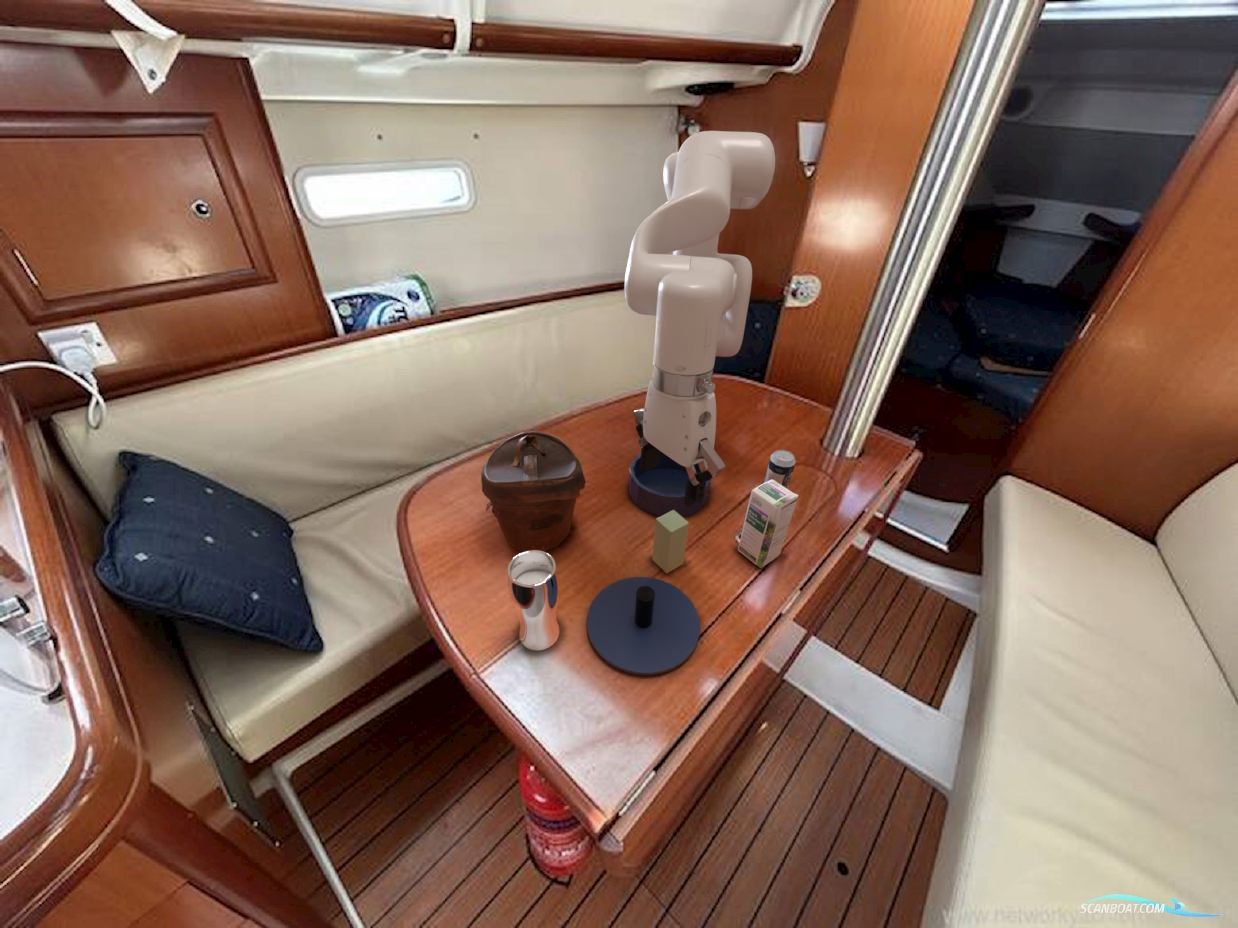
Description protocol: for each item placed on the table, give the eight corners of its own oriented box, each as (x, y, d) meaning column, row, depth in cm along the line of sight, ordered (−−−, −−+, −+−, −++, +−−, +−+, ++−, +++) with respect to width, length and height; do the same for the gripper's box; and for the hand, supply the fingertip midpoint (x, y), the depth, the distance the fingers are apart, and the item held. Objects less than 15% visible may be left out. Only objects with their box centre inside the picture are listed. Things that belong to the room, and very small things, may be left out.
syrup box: (735, 550, 92) (749, 489, 84) (757, 537, 95) (772, 476, 87) (760, 569, 89) (777, 508, 80) (781, 555, 92) (800, 494, 83)
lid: (565, 613, 80) (563, 581, 76) (651, 566, 89) (654, 534, 84) (632, 700, 69) (634, 669, 65) (722, 636, 78) (730, 605, 73)
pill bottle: (783, 512, 101) (797, 464, 94) (759, 508, 102) (771, 460, 95) (782, 497, 105) (795, 450, 98) (759, 493, 106) (770, 446, 99)
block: (652, 559, 90) (655, 518, 84) (668, 550, 92) (673, 509, 86) (666, 573, 88) (671, 532, 82) (683, 563, 90) (689, 522, 84)
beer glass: (518, 615, 80) (508, 549, 71) (562, 613, 80) (557, 547, 72) (514, 655, 74) (503, 588, 65) (562, 652, 75) (557, 586, 66)
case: (542, 483, 107) (536, 410, 96) (606, 531, 96) (607, 455, 85) (468, 522, 97) (451, 446, 86) (530, 581, 85) (520, 502, 75)
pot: (613, 484, 107) (613, 464, 104) (672, 458, 115) (675, 439, 112) (663, 529, 96) (665, 508, 93) (725, 497, 105) (729, 476, 101)
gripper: (754, 395, 59) (732, 506, 69) (660, 347, 71) (652, 448, 81) (709, 413, 56) (692, 527, 66) (617, 359, 67) (614, 464, 77)
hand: (670, 484), depth 73 cm, fingers open, 9 cm apart
